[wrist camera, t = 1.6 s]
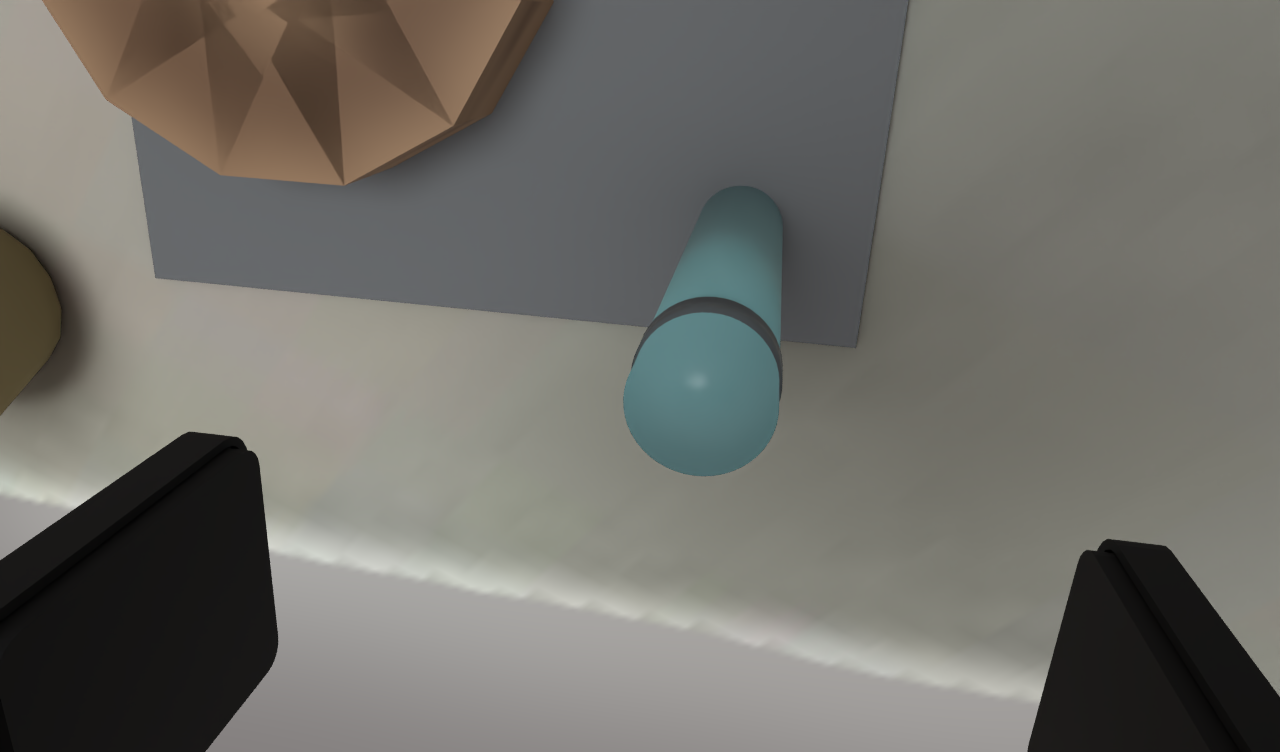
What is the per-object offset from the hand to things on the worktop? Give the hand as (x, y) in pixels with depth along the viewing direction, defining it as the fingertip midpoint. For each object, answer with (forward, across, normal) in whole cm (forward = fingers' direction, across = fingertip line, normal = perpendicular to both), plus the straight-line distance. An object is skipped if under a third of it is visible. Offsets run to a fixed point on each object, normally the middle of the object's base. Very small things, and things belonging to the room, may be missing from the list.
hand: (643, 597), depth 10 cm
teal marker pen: (+19, 0, 0) cm, 19 cm away
